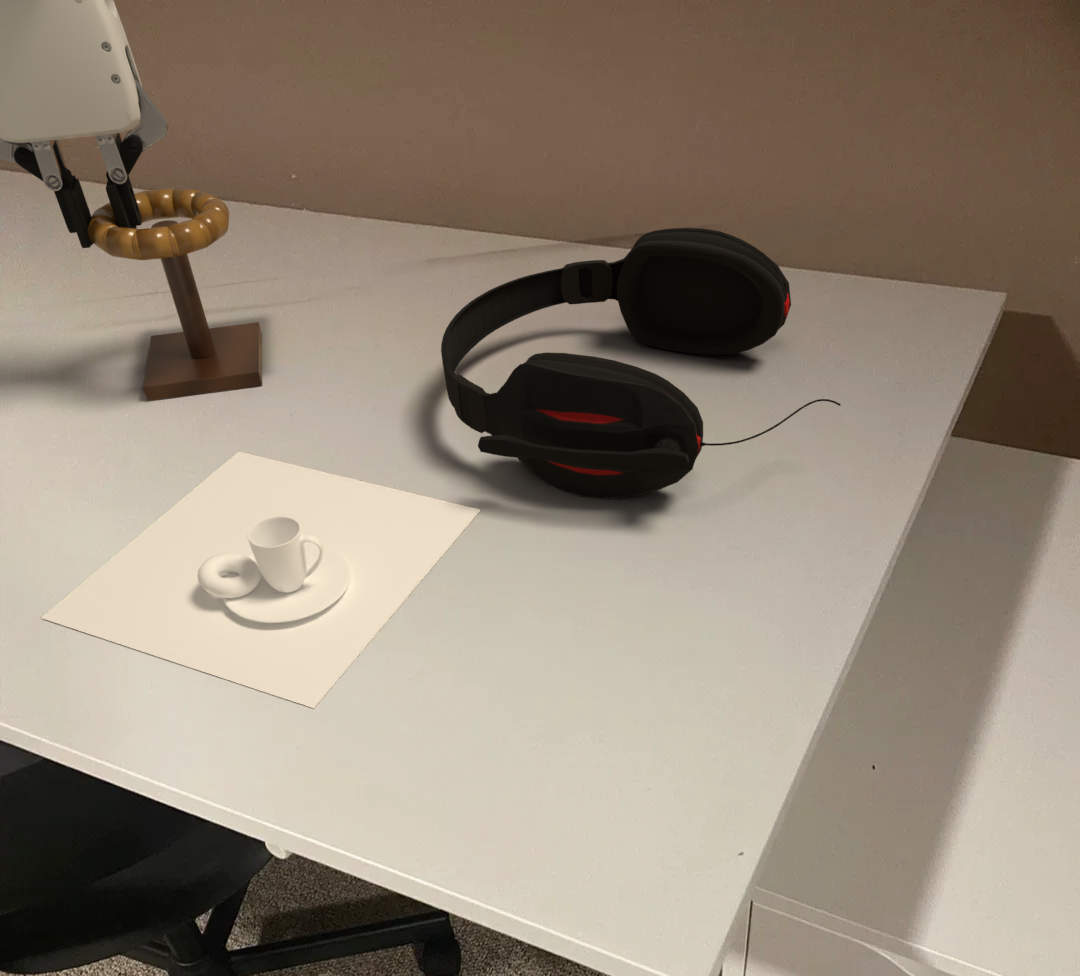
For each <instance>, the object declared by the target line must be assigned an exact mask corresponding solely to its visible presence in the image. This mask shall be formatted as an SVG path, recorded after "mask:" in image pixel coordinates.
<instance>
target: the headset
mask: <svg viewBox="0 0 1080 976" xmlns="http://www.w3.org/2000/svg"><path fill="white" fill-rule="evenodd" d="M790 289H791V288H790V282H789V281H788V279H787V278H786V276H785V274H784V273H783V271H782V270H781V268H780V267H779V265H778V263H776V262H775V261H773V260H772V259H771V258H769V256H767V255H766V254H765V253H764V252H763V251H761V250H759V249H758V248H757V247H755V246H754V245H752V244H750V243H749V242H747V241H745V240H744V239H741V238H739V237H737V236H735V235H731V234H728V233H725V232H723V231H719V230H714V229H708V228H702V227H701V228H699V227H675V228H674V227H672V228H665V229H658V230H652V231H650V232H646V233H644V234H642V235H641V236H640V237H639V238H638V239H637V240H636V241H635V243H634V245H633V246H632V247H631V249H630V250H629V251H628V253H627V254H626V255H625V256H624V257H623V258H621V259H619V260H616V261H612V262H607V261H606V260H605V259H594V260H583V261H574V262H571V263H567V264H566V263H565V265H564V266H563V267H560V268H556V269H555V268H554V269H550V270H546V271H541V272H536V273H532V274H528V275H525V276H522V277H518V278H515V279H513V280H510V281H507V282H505V283H502V284H500V285H498V286H495V287H493V288H491V289H489V290H487V291H486V292H484V293H481V294H479V296H477V297H475V298H474V299H472V300H471V301H469V302H467V304H465V306H463V307H462V308H461V309H459V311H458V312H457V313H456V314H455V315H454V317H452V319H451V320H450V321H449V324H448V325H447V327H446V328H445V331H444V333H443V335H442V340H441V344H440V345H441V346H440V352H441V353H440V354H441V361H442V366H443V368H442V369H443V375H444V382H445V388H446V393H447V398H448V400H449V402H450V404H451V406H452V407H453V409H454V412H455V414H456V416H457V418H458V419H459V420H460V421H461V423H463V424H464V425H466V426H467V427H469V428H470V429H473V430H474V432H475V431H476V432H478V433H480V434H483V433H487V434H489V435H484V436H481V437H479V440H478V443H477V447H478V449H479V451H480V453H485V454H490V455H494V456H500V457H504V458H505V457H506V458H516V459H518V460H519V462H520V463H521V464H522V466H524V467H525V468H526V469H527V470H528V471H529V472H530V473H532V474H533V475H534V476H535V477H537V478H538V479H539V480H542V481H543V482H545V483H547V484H548V485H550V486H552V487H555V488H557V489H558V490H560V491H563V492H566V493H571V494H574V495H576V496H581V497H587V498H594V499H621V498H628V497H629V498H630V497H635V496H641V495H645V494H650V493H652V492H656V491H660V490H662V489H664V488H667V487H670V486H672V485H674V484H677V483H679V482H680V481H681V480H682V479H683V478H684V477H685V476H687V475H688V474H689V473H690V472H691V471H692V470H693V469H694V465H695V463H696V460H697V458H698V457H699V455H700V453H701V451H702V449H703V447H706V446H710V447H711V446H713V447H714V446H729V445H734V444H739V443H742V442H743V443H744V442H747V441H749V440H752V439H755V438H757V437H759V436H762V435H764V434H765V433H768V432H770V431H772V430H773V429H776V428H777V427H778V426H780V425H781V424H783V423H784V422H786V421H787V420H788V419H790V418H791V417H793V416H794V415H795V414H797V413H798V412H800V411H801V410H803V409H804V408H806V407H808V406H810V405H812V404H814V403H817V402H828V403H832V404H835V405H837V406H840V407H841V406H842V404H841V403H840V402H837V401H836V400H832V399H828V398H819V399H815V400H812V401H809V402H808V403H806V404H804V405H802V406H801V407H799V408H798V409H796V410H795V411H794V412H792V413H790V414H789V415H788V416H786V417H785V418H784V419H782V420H781V421H779V422H778V423H776V424H774V425H773V426H771V427H770V428H768V429H765V430H764V431H762V432H760V433H757V434H755V435H752V436H750V437H747V438H746V437H745V438H743V439H740V440H736V441H729V442H721V443H719V442H718V443H707V442H704V441H703V440H704V421H703V417H702V416H701V412H700V410H699V408H698V406H697V405H696V404H695V403H694V402H693V400H691V399H690V397H688V396H687V395H686V393H684V391H682V390H681V389H679V388H678V387H677V386H676V385H674V384H673V383H672V382H670V381H669V380H668V379H665V378H664V377H662V376H660V375H659V374H657V373H655V372H652V371H649V370H647V369H644V368H641V367H638V366H635V365H632V364H629V363H625V362H621V361H619V360H615V359H610V358H604V357H600V356H599V357H598V356H593V355H585V354H578V353H577V354H576V353H567V352H540V353H535V354H533V355H530V356H529V357H528V358H527V359H526V361H525V362H523V363H519V365H517V366H516V367H515V368H514V369H513V370H512V371H511V373H510V375H509V376H508V377H507V379H506V380H505V382H504V383H503V385H502V386H500V388H499V389H498V390H497V391H496V392H492V393H489V392H486V390H485V389H484V388H483V387H481V386H479V385H478V384H476V383H474V382H472V381H470V380H469V379H467V378H466V377H465V376H463V375H462V374H460V373H456V371H457V368H458V366H459V364H460V363H461V362H462V361H463V359H464V358H465V356H467V355H468V354H469V353H470V351H471V350H472V349H474V348H475V347H476V346H477V345H478V344H479V343H480V342H481V341H483V340H484V339H485V338H486V337H488V336H490V335H491V334H492V333H494V332H495V331H496V330H499V329H501V328H502V327H504V326H506V325H507V324H510V323H512V322H514V321H515V320H518V319H520V318H523V317H524V316H527V315H529V314H532V313H534V312H537V311H541V310H543V309H546V308H550V307H553V306H557V305H561V304H566V303H567V304H568V305H581V304H592V303H593V304H595V303H604V302H606V301H608V300H614V301H617V303H618V306H619V311H620V313H621V316H622V318H623V320H624V324H625V325H626V327H627V330H628V331H629V333H630V335H631V336H632V338H634V339H635V340H636V341H637V342H639V343H640V344H644V345H646V346H649V347H653V348H657V349H662V350H668V351H673V352H678V353H685V354H686V353H687V354H694V355H695V354H696V355H732V354H733V355H734V354H740V353H744V352H747V351H750V350H753V349H754V348H758V347H760V346H761V345H763V344H765V343H766V342H768V341H769V340H771V339H772V338H773V337H774V336H776V334H777V333H778V331H779V330H780V329H782V327H783V326H785V324H786V321H787V318H788V315H789V313H790V309H791V306H792V300H791V291H790Z"/></svg>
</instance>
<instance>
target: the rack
mask: <svg viewBox="0 0 1080 976" xmlns="http://www.w3.org/2000/svg"><path fill="white" fill-rule="evenodd" d="M177 223H179V222H178V221H177V220H171V219H170V220H168V219H166V220H161V221H157V222H155V223H153V224H152V225H151V227H150V228H157V227H167V226H170V225H174V224H177ZM160 261H161V265H162V268H163V271H164V274H165V277H166V280H167V284H168V288H169V291H170V293H171V296H172V300H173V303H174V307H175V309H176V313H177V316H178V319H179V322H180V326H181V329H182V331H178V332H170V333H162V334H155V335H151V336H150V341H149V346H148V353H147V359H146V365H145V372H144V377H143V384H142V389H143V392H144V395H145V398H146V400H147V402H149V401H156V400H164V399H173V398H180V397H187V396H195V395H202V394H211V393H219V392H225V391H232V390H239V389H247V388H255V387H262V386H263V333H262V329H261V326H260V325H261V324H260V322H259V321H256V322H250V323H249V322H248V323H240V324H234V325H233V324H232V325H226V326H225V325H224V326H217V327H216V326H215V327H210V326H209V324H208V321H207V316H206V314H205V310H204V307H203V303H202V299H201V296H200V293H199V289H198V285H197V283H196V279H195V275H194V272H193V269H192V266H191V262H190V259H189V255H188V254H185V255H181V256H178V257H172V258H162V259H160Z"/></svg>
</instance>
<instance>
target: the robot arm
mask: <svg viewBox="0 0 1080 976" xmlns="http://www.w3.org/2000/svg"><path fill="white" fill-rule="evenodd" d="M139 123H140V124H139ZM168 130H169V123H168V120H167V119H166V118H165V117H164V115H163V113H162V112H161V110H159V108H158V107H157V105H156V104H155V103H154V101H153V100H152V98H151V97H150V95H149V94H148V93H147V92H146V90H145V89H144V88H143V84H142V80H141V78H140V73H139V71H138V67H137V65H136V62H135V58H134V55H133V51H132V49H131V46H130V43H129V40H128V37H127V34H126V32H125V29H124V25H123V23H122V20H121V16H120V15H119V11H118V9H117V6H116V3H115V1H114V0H0V160H2V161H6V162H9V163H15V164H17V165H18V166H19V167H21V168H22V169H24V170H25V171H27V172H28V173H29V174H31V175H33V176H34V177H35V178H37V179H38V180H40V181H42V182H43V183H44V185H45V187H46V188H47V189H48V190H50V191H52V192H53V193H54V195H55V198H56V201H57V203H58V206H59V210H60V212H61V215H62V217H63V220H64V223H65V225H66V228H67V230H68V232H69V233H70V234H74V233H76V235H77V238H78V241H79V244H80V246H81V248H82V249H90V248H91V247H92V246H93V245H94V244H93V242H92V241H91V240H90V238H89V235H88V227H89V224H90V221H91V217H92V213H91V211H90V207H89V205H88V202H87V199H86V197H85V194H84V190H83V188H82V185H81V182H80V180H79V179H78V178H76V175H73V174H72V171H71V169H68V167H67V164H66V161H65V157H64V154H63V150H62V148H61V144H60V141H59V140H70V139H79V138H89V137H94V138H95V141H96V144H97V147H98V149H99V152H100V154H101V158H102V160H103V163H104V166H105V168H106V173H105V177H106V179H107V182H106V185H105V192H106V194H107V199H108V201H109V202H110V204H111V207H112V210H113V213H114V216H115V219H116V222H117V225H118V227H124V228H132V229H138V228H137V227H139V226H142V224H143V223H142V219H141V214H140V211H139V207H138V204H137V201H136V198H135V195H134V194H135V192H134V189H133V185H132V182H131V179H130V174H131V172H132V171H133V169H134V167H135V165H136V163H137V162H138V160H139V158H140V156H141V155H142V153H143V152H144V151H146V150H148V149H149V148H150V147H152V146H154V145H155V144H156V143H158V142H159V141H161V140H162V139H163V138H165V137H166V136H167V134H168ZM125 132H127V133H126V134H125V137H124V138H123V137H122V133H125Z"/></svg>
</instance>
